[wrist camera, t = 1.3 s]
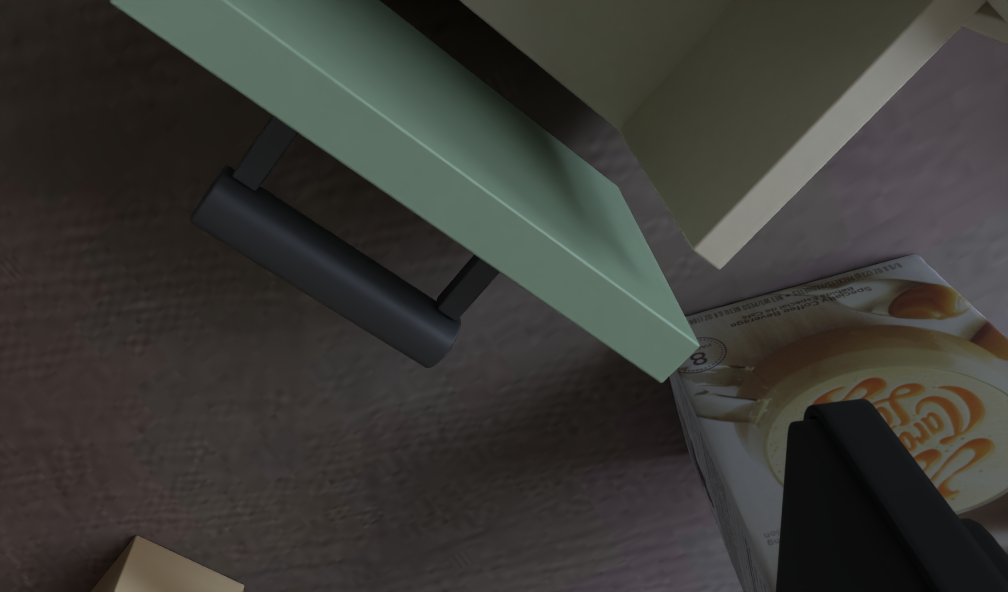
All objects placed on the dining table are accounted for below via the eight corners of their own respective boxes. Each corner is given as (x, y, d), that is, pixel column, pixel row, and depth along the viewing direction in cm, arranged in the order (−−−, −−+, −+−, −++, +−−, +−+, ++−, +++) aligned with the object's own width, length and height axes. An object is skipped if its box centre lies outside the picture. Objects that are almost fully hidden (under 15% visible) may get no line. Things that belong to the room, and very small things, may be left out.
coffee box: (920, 242, 29) (1387, 647, 15) (930, 394, 32) (1327, 849, 18) (648, 321, 30) (852, 783, 16) (684, 463, 33) (880, 955, 19)
